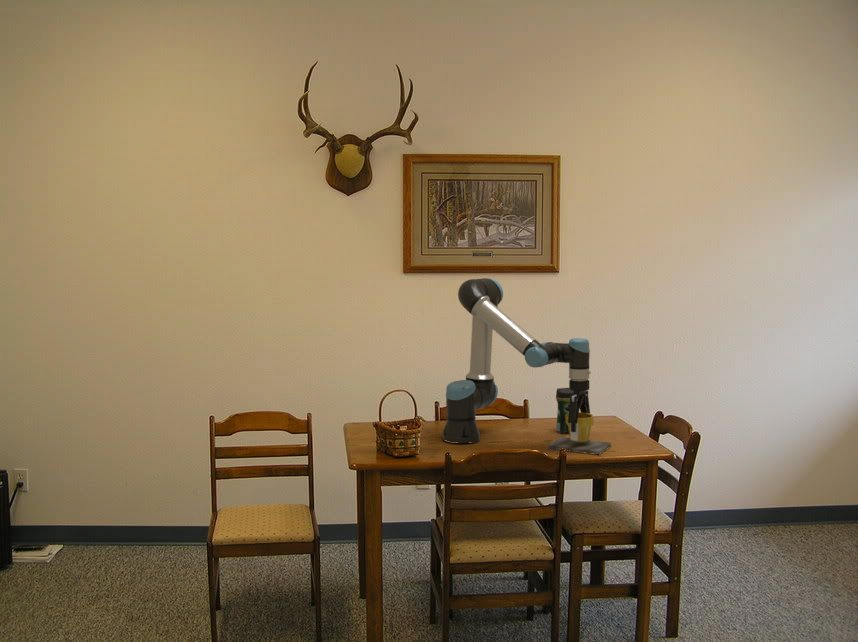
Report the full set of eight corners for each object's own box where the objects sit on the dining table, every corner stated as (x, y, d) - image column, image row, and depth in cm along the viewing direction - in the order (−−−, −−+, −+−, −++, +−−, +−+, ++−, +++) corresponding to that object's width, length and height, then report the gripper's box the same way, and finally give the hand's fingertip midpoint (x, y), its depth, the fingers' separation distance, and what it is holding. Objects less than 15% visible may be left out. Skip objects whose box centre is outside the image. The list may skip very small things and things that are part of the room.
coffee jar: (576, 429, 304) (576, 385, 303) (581, 433, 297) (581, 389, 295) (554, 430, 304) (553, 386, 302) (558, 434, 296) (558, 390, 294)
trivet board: (547, 448, 274) (547, 445, 274) (561, 440, 286) (561, 436, 286) (599, 455, 264) (599, 451, 263) (610, 446, 275) (610, 442, 275)
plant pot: (566, 443, 270) (566, 417, 269) (564, 436, 280) (564, 411, 279) (594, 444, 269) (594, 418, 268) (592, 437, 279) (592, 412, 278)
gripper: (578, 384, 261) (578, 444, 263) (598, 375, 280) (598, 431, 282) (558, 383, 265) (558, 442, 267) (580, 374, 284) (580, 429, 286)
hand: (579, 436), depth 274 cm, fingers closed on plant pot, 10 cm apart
